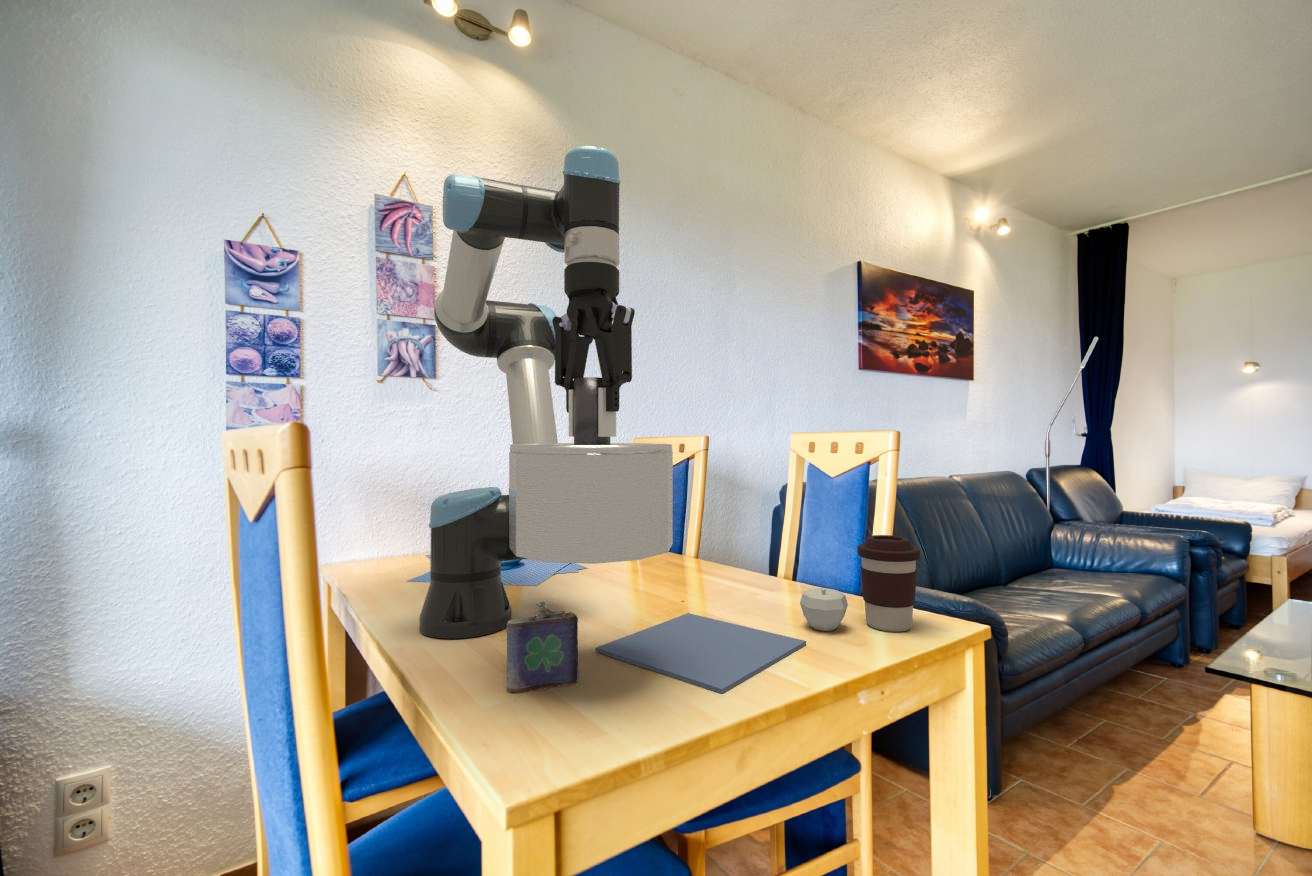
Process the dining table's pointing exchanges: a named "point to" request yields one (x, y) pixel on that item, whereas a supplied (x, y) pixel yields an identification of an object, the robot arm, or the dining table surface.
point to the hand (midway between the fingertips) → (592, 436)
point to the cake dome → (590, 494)
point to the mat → (702, 650)
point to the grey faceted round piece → (823, 608)
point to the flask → (542, 650)
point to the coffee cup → (888, 581)
